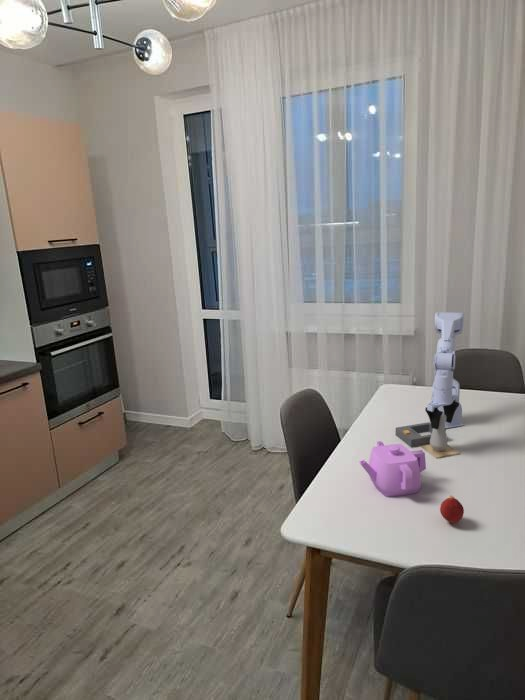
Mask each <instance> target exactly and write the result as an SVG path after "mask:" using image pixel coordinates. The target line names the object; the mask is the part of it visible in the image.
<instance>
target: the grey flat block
mask: <svg viewBox="0 0 525 700" xmlns="http://www.w3.org/2000/svg"><path fill="white" fill-rule="evenodd" d="M432 430H433V428H432V426H431V422H430V421H427V422H421V423H416V424H411V425H405V426H398V427H395V436H396V437H397V438H398V439H400V440H401V441H402V442H403V443H405V444H406V445H407V446H408V447H410V448H417V447H422V446H424V445H430V438H431V434H432ZM427 432H429V433H430V434H426V435H425V434H424V435H421V433H427ZM446 436H447V433H446Z"/></svg>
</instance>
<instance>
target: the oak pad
mask: <svg viewBox="0 0 525 700" xmlns="http://www.w3.org/2000/svg"><path fill="white" fill-rule="evenodd" d="M421 448H422V449H423V450H424V451H426V452H427V453H428V454H429V455H431V456H433V458H435V459H442V458H447V457H454V456H458V455H461V452H460V451H458V450H456V449H455V448H453V447H452V446H450V445H449V444H448V443H447V446H446V448H445V449H444V451H441V452H437V451H434V450H433V449H432V447H431V445H430V444H429V445H423V446H421Z"/></svg>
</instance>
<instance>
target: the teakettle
mask: <svg viewBox="0 0 525 700" xmlns="http://www.w3.org/2000/svg"><path fill="white" fill-rule="evenodd" d="M359 464H360V465H361V467H363V470H365V472H366V473H367V474H368V476H369V477H370V480H371V482H372V484H373V485H374V487H375V488H376V489H377V491H378V492H380V494H381V495H382V496H384V497H385V498H391V497H398V496H406V495H412V494H417V493H419V492H420V488H421V486H422V485H421V484H422V483H421V481H422V480H421V479H422V478H421V473H423V471H425V470H427V463H426V453H425V452H424V451H423V450H422V449H420V450H410V449H409V448H408V447H406V446H405V445H403V444H402V443H392V444H384V442H383V441H382V440H378V441H376V446H373V447H372V448H371V452H370V456H369V460H368V462H367V460H366V459H363V460H360V461H359Z"/></svg>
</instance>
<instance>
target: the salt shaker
mask: <svg viewBox="0 0 525 700" xmlns="http://www.w3.org/2000/svg"><path fill="white" fill-rule="evenodd" d="M445 421H446V415H445V414H443V413H442V415H441V418H440V423H439V428H438V429H434V428H433V430H432V433H430V434H431V438H430V444H429V445H431V447H432V449H433V450H434V451H437V452H441V451H444V449H445V448H446V446H447V444H448V439H447V435H446V434H447V431H446V430H447V428H446V429H445Z"/></svg>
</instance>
